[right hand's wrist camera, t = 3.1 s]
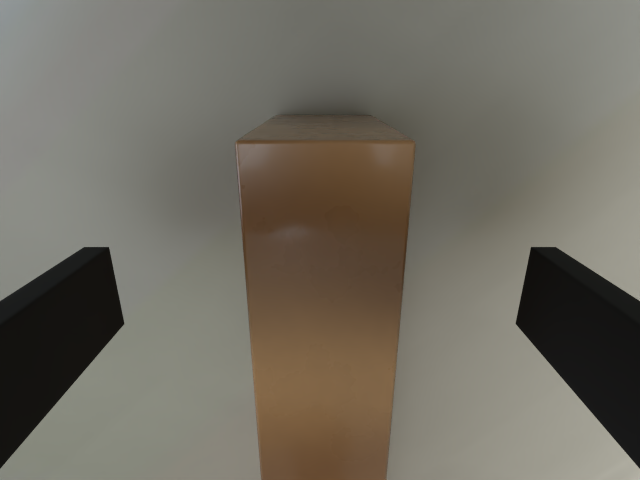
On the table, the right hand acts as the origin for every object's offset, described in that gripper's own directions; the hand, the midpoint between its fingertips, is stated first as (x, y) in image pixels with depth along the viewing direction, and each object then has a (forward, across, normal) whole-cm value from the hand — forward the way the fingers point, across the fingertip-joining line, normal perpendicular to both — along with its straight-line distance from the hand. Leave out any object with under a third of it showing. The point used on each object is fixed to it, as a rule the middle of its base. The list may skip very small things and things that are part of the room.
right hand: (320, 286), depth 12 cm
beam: (+7, 0, -22) cm, 23 cm away
